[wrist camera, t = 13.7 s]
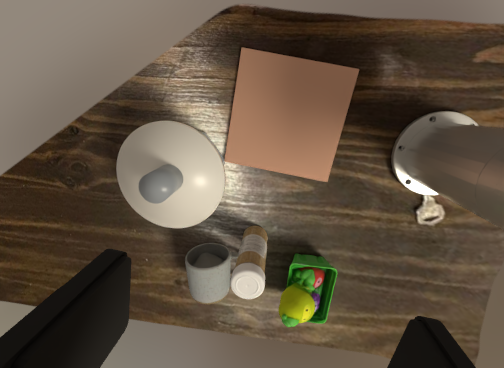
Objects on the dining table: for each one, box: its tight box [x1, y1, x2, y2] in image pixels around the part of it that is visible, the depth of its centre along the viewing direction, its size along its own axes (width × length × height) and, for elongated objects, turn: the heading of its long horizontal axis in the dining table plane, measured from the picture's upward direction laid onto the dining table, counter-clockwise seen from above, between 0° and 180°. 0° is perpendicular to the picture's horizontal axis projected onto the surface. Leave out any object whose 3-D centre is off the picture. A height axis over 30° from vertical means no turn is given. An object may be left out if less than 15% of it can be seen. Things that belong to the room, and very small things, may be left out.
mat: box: [224, 47, 359, 182], centre depth 39 cm, size 17×17×1 cm
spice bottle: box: [230, 226, 268, 299], centre depth 40 cm, size 5×5×14 cm
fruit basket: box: [279, 253, 337, 327], centre depth 42 cm, size 11×9×11 cm
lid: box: [116, 121, 226, 228], centre depth 35 cm, size 16×16×6 cm
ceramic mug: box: [185, 243, 238, 304], centre depth 45 cm, size 11×8×8 cm
